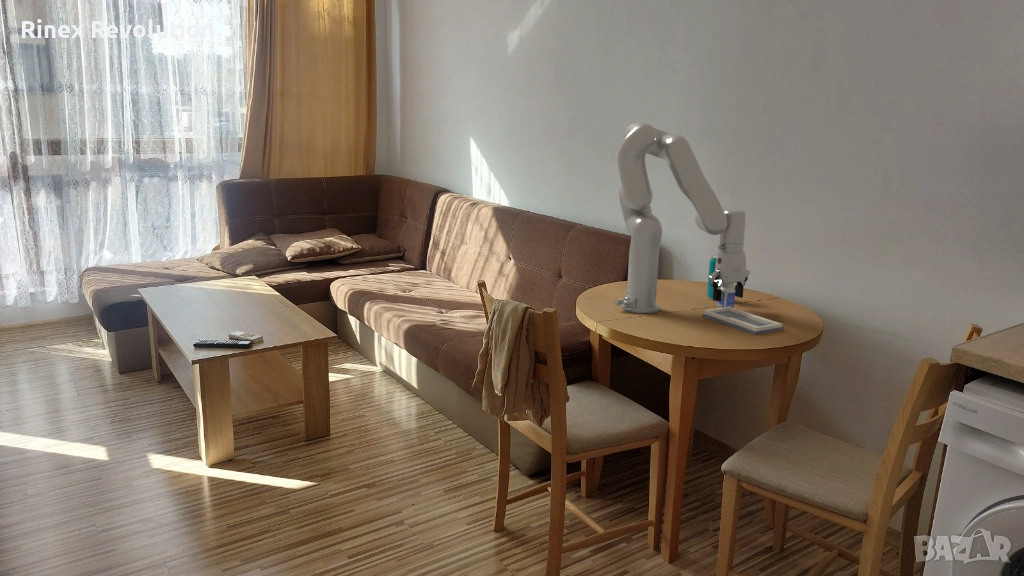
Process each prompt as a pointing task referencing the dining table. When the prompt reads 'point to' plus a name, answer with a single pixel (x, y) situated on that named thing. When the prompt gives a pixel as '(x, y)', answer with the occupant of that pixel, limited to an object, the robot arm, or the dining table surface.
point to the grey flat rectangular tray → (742, 320)
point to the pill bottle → (727, 296)
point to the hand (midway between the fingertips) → (727, 298)
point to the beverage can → (711, 270)
